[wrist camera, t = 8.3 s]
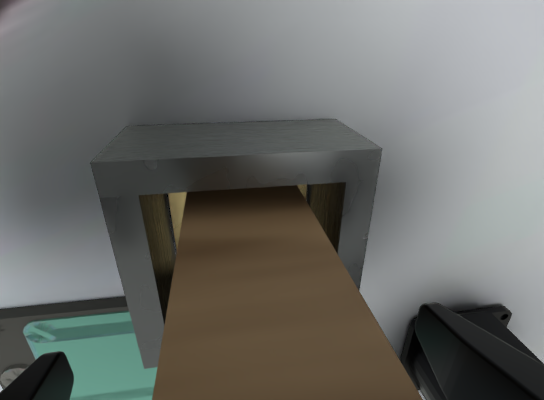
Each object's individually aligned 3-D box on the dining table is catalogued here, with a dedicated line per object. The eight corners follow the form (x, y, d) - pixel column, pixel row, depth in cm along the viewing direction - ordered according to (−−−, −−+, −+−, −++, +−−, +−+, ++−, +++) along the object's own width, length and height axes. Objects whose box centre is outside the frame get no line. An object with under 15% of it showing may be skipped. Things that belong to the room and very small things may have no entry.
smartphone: (-39, 326, 13) (309, 291, 16) (-19, 304, 15) (303, 274, 17) (20, 428, 17) (301, 387, 19) (32, 404, 18) (296, 368, 20)
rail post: (285, 249, 15) (388, 541, 6) (199, 257, 15) (178, 592, 6) (288, 169, 13) (436, 422, 5) (189, 175, 13) (139, 477, 4)
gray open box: (321, 275, 16) (351, 339, 13) (159, 293, 15) (144, 369, 12) (335, 118, 13) (382, 148, 9) (126, 125, 12) (90, 162, 8)
